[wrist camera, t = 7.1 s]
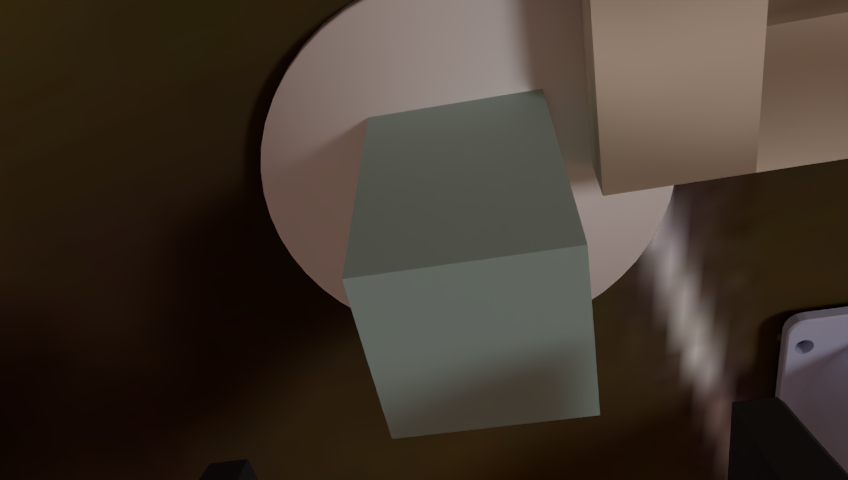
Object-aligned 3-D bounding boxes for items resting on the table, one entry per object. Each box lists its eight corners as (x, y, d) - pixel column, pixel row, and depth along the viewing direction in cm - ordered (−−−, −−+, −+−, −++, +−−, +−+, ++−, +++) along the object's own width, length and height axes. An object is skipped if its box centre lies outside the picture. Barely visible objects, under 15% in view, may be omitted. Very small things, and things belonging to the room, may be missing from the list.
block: (557, 233, 19) (599, 414, 14) (402, 255, 19) (392, 438, 15) (542, 88, 17) (587, 244, 12) (368, 117, 17) (341, 279, 12)
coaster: (672, 296, 21) (677, 311, 20) (325, 344, 22) (323, 358, 22) (670, -76, 15) (678, -70, 15) (205, 14, 16) (198, 23, 16)
